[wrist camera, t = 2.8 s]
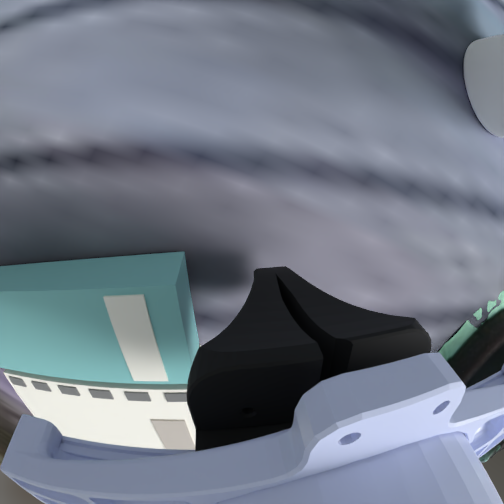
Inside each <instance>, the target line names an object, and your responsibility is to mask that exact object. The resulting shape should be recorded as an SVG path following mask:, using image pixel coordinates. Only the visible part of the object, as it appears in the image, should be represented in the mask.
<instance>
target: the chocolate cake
mask: <svg viewBox="0 0 504 504" xmlns="http://www.w3.org/2000/svg"><path fill="white" fill-rule="evenodd" d="M498 299H499V300H500V299H501V304H500V306H498V307H496V308H494V309H493V310H492V311H491V313H490V314H489V315H488V318H487V319H486V320H485V321H484V322H483V323H481V326H480V327H478V328H476V327H474V326H473V325H472V324H470V322H469V321H468V320H467V321H466V323H465V324H464V325H463V326H462V327H461V329H460V330H459V331H458V332H457V333H456V334H455V335H454V336H453V337H452V338H451V339H450V340H449V341H448V342H447V343H445V344H444V345H443V347H442V348H441V349H440V351H439V352H440V354H441V355H442V356H443V357H444V359H445V360H446V361H447V362H448V364H449V365H450V366H451V368H452V369H453V370H454V371H455V373H456V374H457V375H458V377H459V378H460V379H461V380H462V382H463V383H464V385H465V386H466V388H468V387H470V386H472V385H474V384H476V383H478V382H480V381H482V380H484V379H486V378H488V377H490V376H492V375H493V374H495V373H497V372H499V371H500V370H501V369H502V366H503V364H504V291H502V292H501V293H500V295H499V298H498ZM495 305H496V300H495V301H493V302H492V301H489V302H488V307H487V311H488V312H490V310H491V309H492V308H493V306H495ZM474 316H476V319H477V320H479V319H481V317H482V309H481V308H480V309H479V310H478V311H477V312H476V313H474ZM502 449H504V439H503V440H502V441H501V442H499V443H498V444H497V445H496V446H494V447H493V448H492V449H490V450H489V451H488V452H486V453H485V454H484V455H482V456H481V457H480V458H479V460H480V462H482V463H483V462H486V461H487V460H489V459H490V458H492V457H493V456H494V455H495V454H496V453H497V452H499V451H501V450H502Z"/></svg>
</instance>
